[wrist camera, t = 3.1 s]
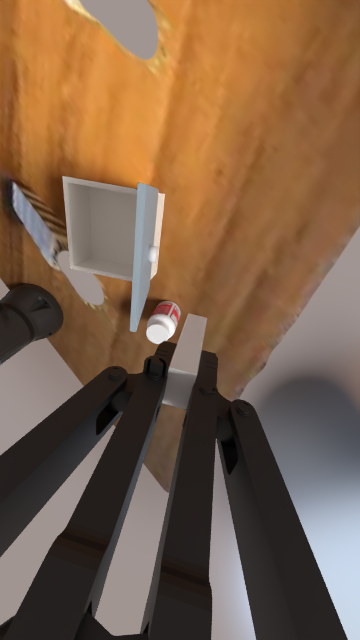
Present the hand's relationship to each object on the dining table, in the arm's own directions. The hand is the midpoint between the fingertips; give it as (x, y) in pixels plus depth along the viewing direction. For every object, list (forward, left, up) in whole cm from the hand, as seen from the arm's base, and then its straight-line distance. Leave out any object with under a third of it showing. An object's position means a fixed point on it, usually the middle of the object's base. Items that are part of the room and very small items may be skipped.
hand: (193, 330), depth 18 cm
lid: (-10, +1, -17) cm, 20 cm away
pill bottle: (-7, -16, -34) cm, 38 cm away
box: (-19, +1, -33) cm, 39 cm away
